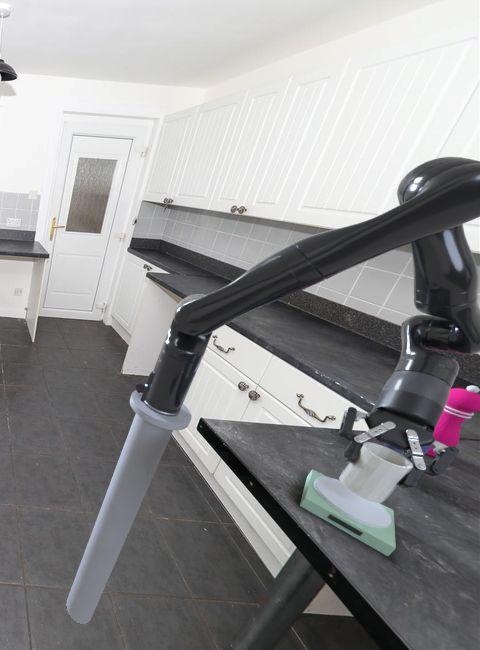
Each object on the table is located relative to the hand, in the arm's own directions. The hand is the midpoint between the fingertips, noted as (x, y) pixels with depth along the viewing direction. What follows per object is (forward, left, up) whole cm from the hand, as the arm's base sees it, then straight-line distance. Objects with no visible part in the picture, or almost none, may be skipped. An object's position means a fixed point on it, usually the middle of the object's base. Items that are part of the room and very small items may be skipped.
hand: (376, 473), depth 62 cm
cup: (0, +2, -5) cm, 6 cm away
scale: (0, +1, -12) cm, 12 cm away
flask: (+7, +30, -12) cm, 33 cm away
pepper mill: (+13, +49, -12) cm, 52 cm away
